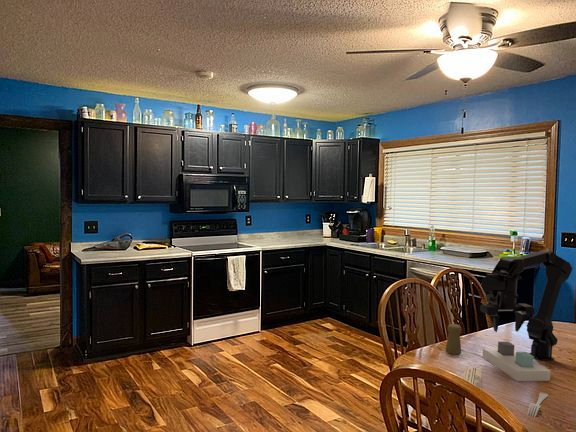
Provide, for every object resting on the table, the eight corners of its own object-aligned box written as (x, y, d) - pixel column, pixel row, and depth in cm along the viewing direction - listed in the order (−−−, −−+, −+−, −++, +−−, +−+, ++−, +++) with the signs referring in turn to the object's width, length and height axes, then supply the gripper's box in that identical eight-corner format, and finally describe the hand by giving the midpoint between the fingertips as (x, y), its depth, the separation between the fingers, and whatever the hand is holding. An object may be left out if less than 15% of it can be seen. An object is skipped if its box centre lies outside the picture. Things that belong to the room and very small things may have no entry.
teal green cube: (525, 362, 158) (526, 352, 158) (532, 367, 154) (533, 356, 154) (515, 363, 158) (515, 352, 158) (522, 367, 154) (522, 356, 154)
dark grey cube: (507, 351, 169) (508, 341, 169) (513, 355, 165) (514, 345, 165) (497, 351, 169) (498, 341, 169) (503, 355, 165) (504, 345, 165)
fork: (549, 403, 141) (549, 394, 141) (535, 420, 125) (536, 410, 125) (539, 400, 143) (540, 391, 143) (524, 417, 127) (525, 407, 127)
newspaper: (464, 370, 160) (464, 365, 160) (485, 374, 157) (485, 369, 157) (458, 396, 139) (458, 391, 139) (482, 402, 136) (483, 396, 136)
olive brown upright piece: (462, 354, 174) (464, 327, 173) (446, 353, 175) (447, 326, 174) (459, 349, 180) (461, 323, 179) (444, 348, 181) (445, 321, 180)
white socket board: (511, 356, 173) (511, 347, 173) (549, 380, 151) (550, 370, 151) (482, 356, 172) (482, 348, 172) (517, 381, 150) (517, 371, 150)
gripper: (518, 286, 175) (516, 324, 176) (473, 286, 173) (471, 325, 174) (536, 292, 164) (534, 333, 165) (489, 293, 162) (487, 334, 163)
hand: (506, 331), depth 167 cm, fingers open, 8 cm apart
